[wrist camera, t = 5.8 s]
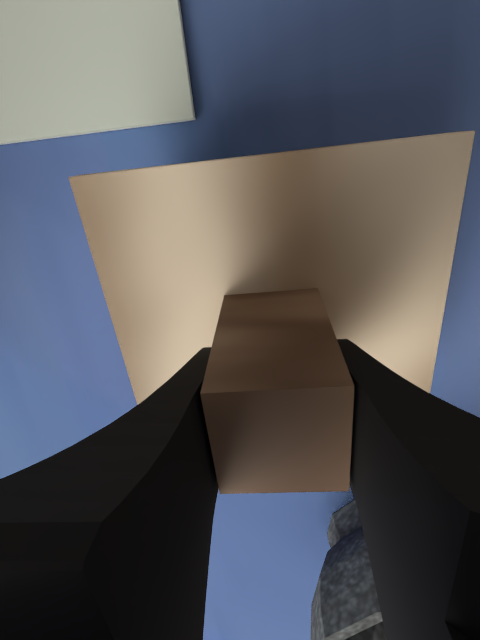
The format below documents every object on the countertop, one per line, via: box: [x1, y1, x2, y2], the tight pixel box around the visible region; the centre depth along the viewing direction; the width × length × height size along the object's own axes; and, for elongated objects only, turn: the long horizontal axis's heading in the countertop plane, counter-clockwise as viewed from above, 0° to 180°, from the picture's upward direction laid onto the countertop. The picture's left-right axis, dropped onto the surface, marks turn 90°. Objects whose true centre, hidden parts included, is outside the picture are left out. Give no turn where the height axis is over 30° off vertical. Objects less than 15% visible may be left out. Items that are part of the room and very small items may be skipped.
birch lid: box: [69, 131, 475, 494], centre depth 10 cm, size 11×11×6 cm
